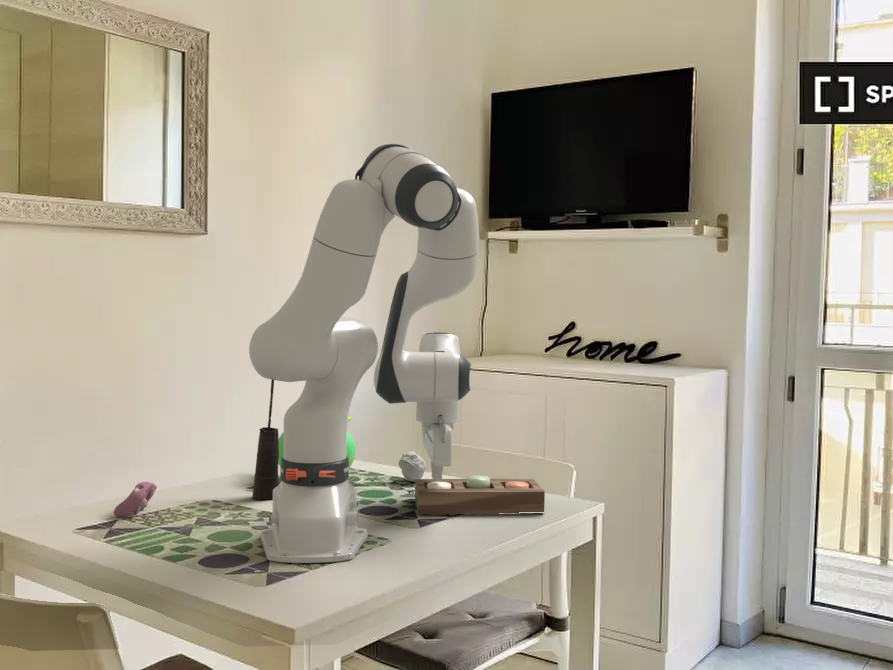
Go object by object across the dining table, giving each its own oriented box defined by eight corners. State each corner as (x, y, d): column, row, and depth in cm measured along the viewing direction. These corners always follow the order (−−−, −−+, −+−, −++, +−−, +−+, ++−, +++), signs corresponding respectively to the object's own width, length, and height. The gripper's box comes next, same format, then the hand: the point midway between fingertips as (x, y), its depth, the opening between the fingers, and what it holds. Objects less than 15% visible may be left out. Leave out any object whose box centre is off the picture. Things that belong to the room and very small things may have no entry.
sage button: (491, 492, 181) (491, 480, 181) (467, 492, 180) (468, 480, 180) (488, 487, 186) (488, 475, 186) (465, 487, 185) (465, 475, 185)
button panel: (544, 514, 179) (544, 491, 178) (418, 514, 176) (418, 492, 176) (532, 499, 190) (533, 478, 190) (414, 500, 188) (415, 479, 188)
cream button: (451, 499, 180) (452, 486, 180) (428, 499, 180) (428, 486, 180) (449, 493, 185) (449, 481, 185) (426, 493, 185) (426, 481, 184)
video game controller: (132, 526, 170) (148, 494, 170) (110, 515, 170) (127, 483, 170) (148, 513, 180) (164, 482, 180) (127, 503, 180) (143, 472, 179)
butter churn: (260, 506, 180) (261, 367, 179) (230, 499, 186) (231, 364, 185) (295, 498, 188) (296, 365, 186) (265, 491, 194) (266, 362, 192)
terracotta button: (530, 498, 182) (530, 486, 182) (507, 498, 181) (507, 486, 181) (526, 493, 187) (526, 481, 186) (503, 493, 186) (503, 481, 186)
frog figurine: (392, 482, 205) (392, 452, 205) (411, 477, 211) (411, 447, 210) (413, 486, 201) (413, 455, 201) (432, 481, 207) (432, 450, 207)
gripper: (460, 420, 172) (458, 491, 173) (447, 405, 192) (446, 469, 193) (427, 419, 171) (426, 491, 172) (418, 405, 191) (416, 469, 192)
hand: (436, 479), depth 183 cm, fingers closed
